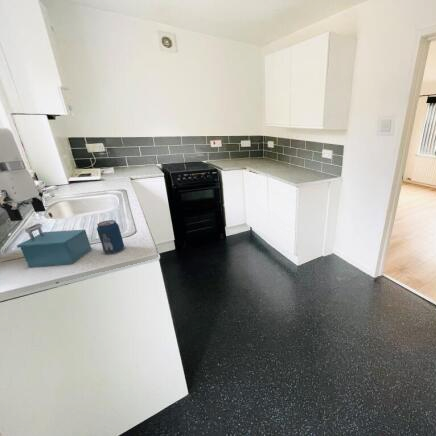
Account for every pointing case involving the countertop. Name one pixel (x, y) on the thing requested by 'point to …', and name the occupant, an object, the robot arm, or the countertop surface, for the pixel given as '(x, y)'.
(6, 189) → the robot arm
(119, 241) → the soda can
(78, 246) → the box
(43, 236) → the freezer lid
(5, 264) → the countertop surface
